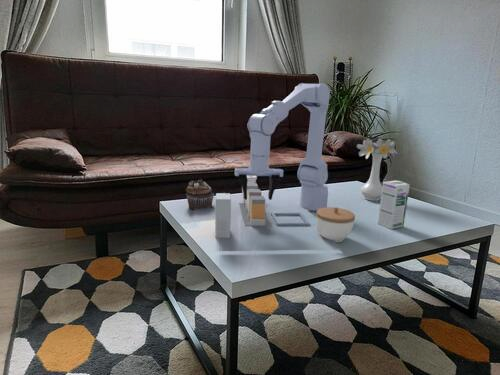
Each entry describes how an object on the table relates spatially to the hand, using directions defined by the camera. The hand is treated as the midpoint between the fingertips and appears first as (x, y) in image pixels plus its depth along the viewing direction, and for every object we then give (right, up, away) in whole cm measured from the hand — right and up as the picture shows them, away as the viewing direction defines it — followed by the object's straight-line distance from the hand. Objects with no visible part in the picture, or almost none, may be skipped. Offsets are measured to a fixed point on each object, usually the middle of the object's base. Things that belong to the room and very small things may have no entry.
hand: (257, 198), depth 106 cm
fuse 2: (-1, -5, +10) cm, 11 cm away
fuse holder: (-1, -6, +10) cm, 12 cm away
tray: (+10, -8, +5) cm, 14 cm away
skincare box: (-10, -11, -8) cm, 17 cm away
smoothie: (-3, -2, +27) cm, 27 cm away
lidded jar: (+22, -11, -6) cm, 25 cm away
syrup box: (+43, -9, +7) cm, 45 cm away
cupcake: (-20, -4, +16) cm, 26 cm away
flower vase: (+47, -1, +36) cm, 59 cm away
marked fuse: (0, -7, +2) cm, 8 cm away
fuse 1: (-2, -3, +17) cm, 18 cm away
